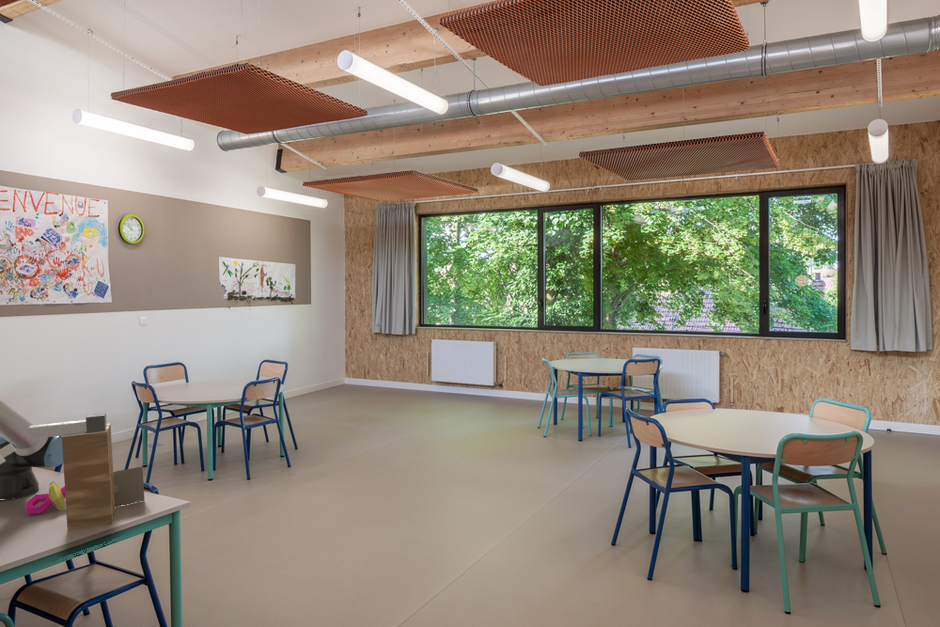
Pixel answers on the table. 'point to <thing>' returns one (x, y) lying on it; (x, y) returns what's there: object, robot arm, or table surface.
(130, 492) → the laptop
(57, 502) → the toy
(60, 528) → the table surface
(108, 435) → the stand
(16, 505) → the table surface
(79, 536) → the table surface
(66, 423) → the metal block
